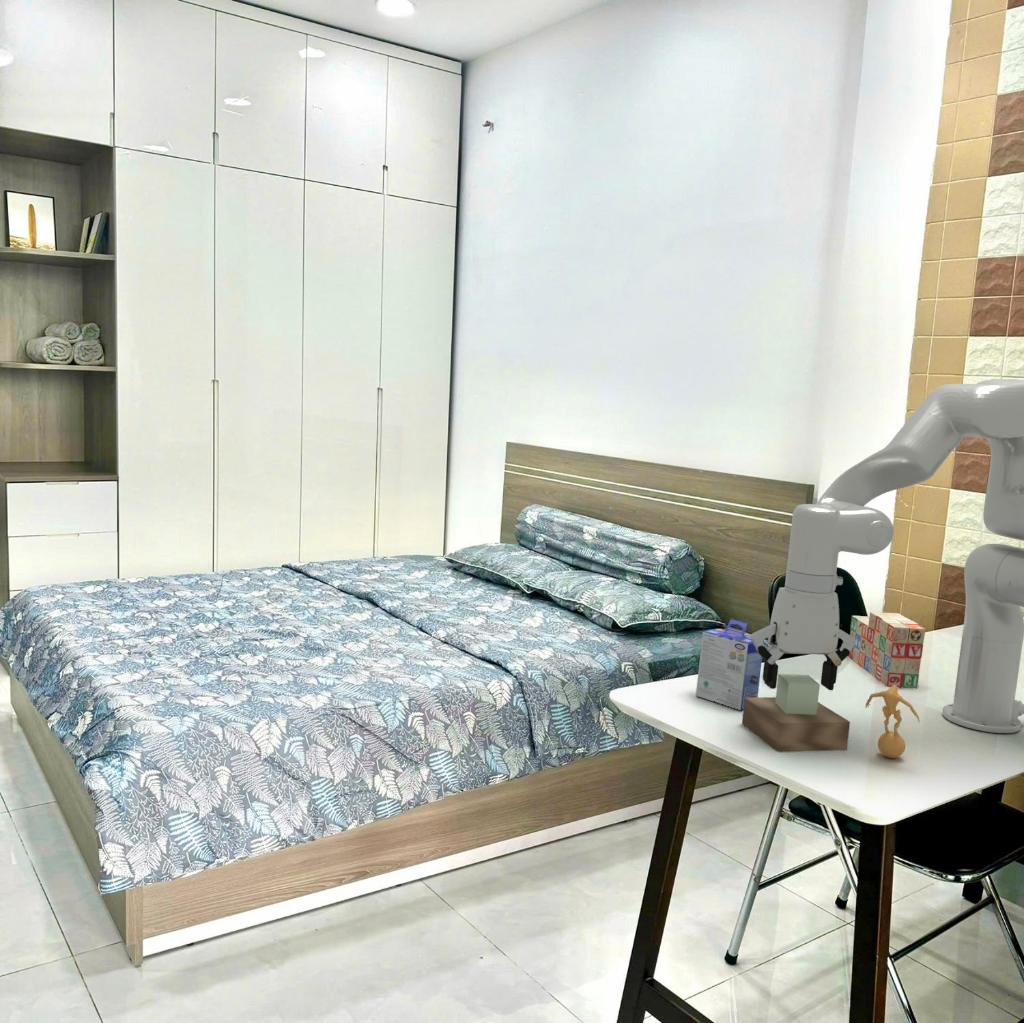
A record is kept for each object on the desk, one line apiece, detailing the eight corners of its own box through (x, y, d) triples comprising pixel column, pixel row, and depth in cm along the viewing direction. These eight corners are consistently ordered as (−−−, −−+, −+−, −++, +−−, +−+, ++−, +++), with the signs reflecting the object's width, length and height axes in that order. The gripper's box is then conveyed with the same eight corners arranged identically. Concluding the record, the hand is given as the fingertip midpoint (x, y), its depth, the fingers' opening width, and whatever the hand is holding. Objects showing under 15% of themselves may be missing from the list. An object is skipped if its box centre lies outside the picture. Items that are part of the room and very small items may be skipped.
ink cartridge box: (759, 706, 172) (767, 626, 170) (741, 712, 168) (750, 630, 166) (712, 691, 179) (719, 614, 177) (694, 696, 175) (702, 618, 173)
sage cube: (804, 704, 160) (808, 675, 159) (816, 714, 155) (819, 684, 154) (775, 703, 159) (778, 673, 159) (785, 713, 154) (789, 683, 154)
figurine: (921, 762, 150) (931, 687, 148) (907, 772, 145) (917, 694, 144) (868, 746, 155) (877, 673, 154) (853, 755, 151) (862, 680, 149)
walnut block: (806, 725, 165) (809, 696, 164) (846, 752, 153) (850, 721, 152) (741, 726, 162) (744, 697, 161) (777, 754, 150) (781, 723, 149)
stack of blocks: (846, 656, 211) (853, 601, 209) (875, 658, 211) (881, 603, 209) (886, 687, 189) (894, 625, 188) (918, 689, 190) (926, 627, 188)
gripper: (850, 579, 159) (838, 681, 161) (749, 575, 156) (738, 678, 159) (872, 589, 152) (860, 695, 154) (767, 585, 149) (756, 693, 151)
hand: (798, 686), depth 156 cm, fingers open, 9 cm apart
